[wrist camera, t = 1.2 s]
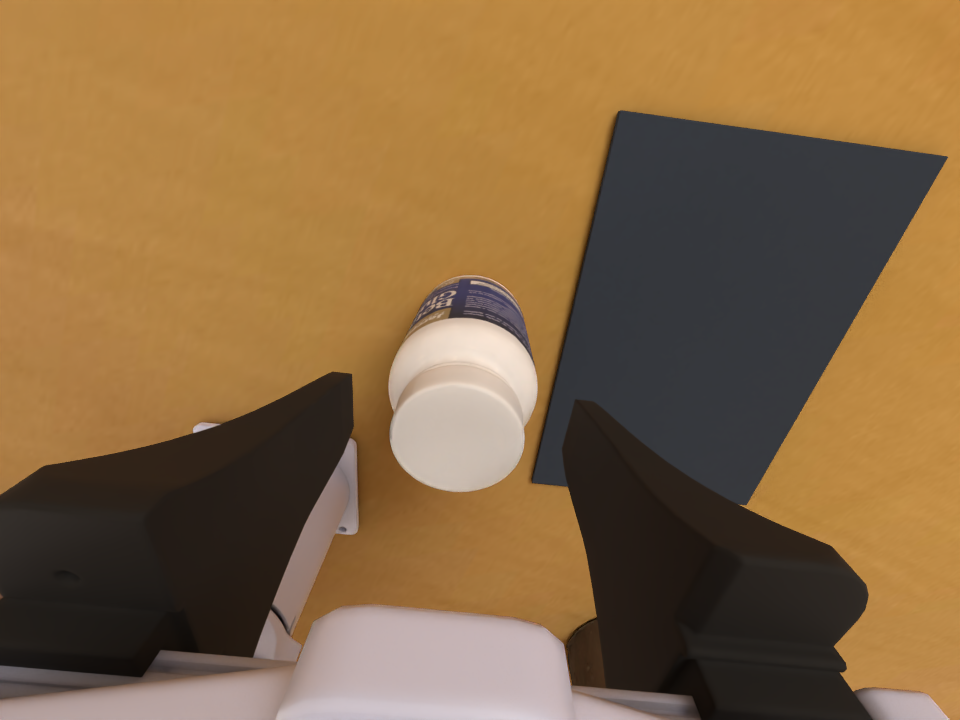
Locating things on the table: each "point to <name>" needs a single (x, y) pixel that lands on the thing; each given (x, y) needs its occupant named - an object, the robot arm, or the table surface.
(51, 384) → the table surface
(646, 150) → the felt mat
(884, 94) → the table surface
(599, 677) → the pillar candle
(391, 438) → the pill bottle
